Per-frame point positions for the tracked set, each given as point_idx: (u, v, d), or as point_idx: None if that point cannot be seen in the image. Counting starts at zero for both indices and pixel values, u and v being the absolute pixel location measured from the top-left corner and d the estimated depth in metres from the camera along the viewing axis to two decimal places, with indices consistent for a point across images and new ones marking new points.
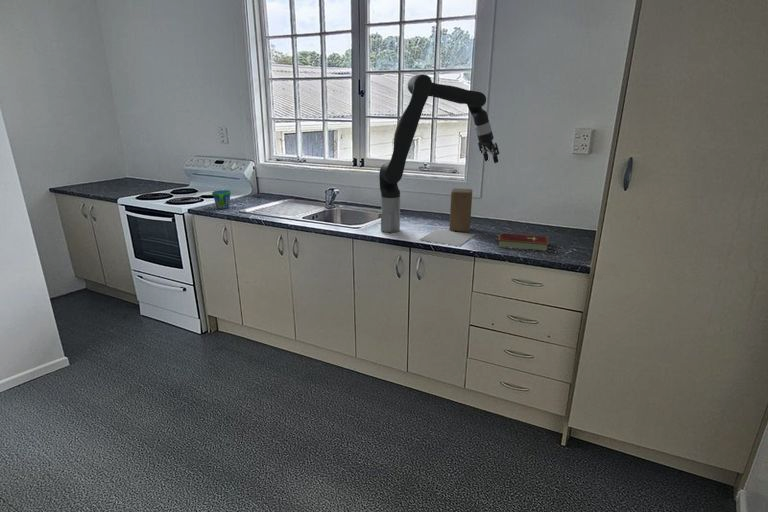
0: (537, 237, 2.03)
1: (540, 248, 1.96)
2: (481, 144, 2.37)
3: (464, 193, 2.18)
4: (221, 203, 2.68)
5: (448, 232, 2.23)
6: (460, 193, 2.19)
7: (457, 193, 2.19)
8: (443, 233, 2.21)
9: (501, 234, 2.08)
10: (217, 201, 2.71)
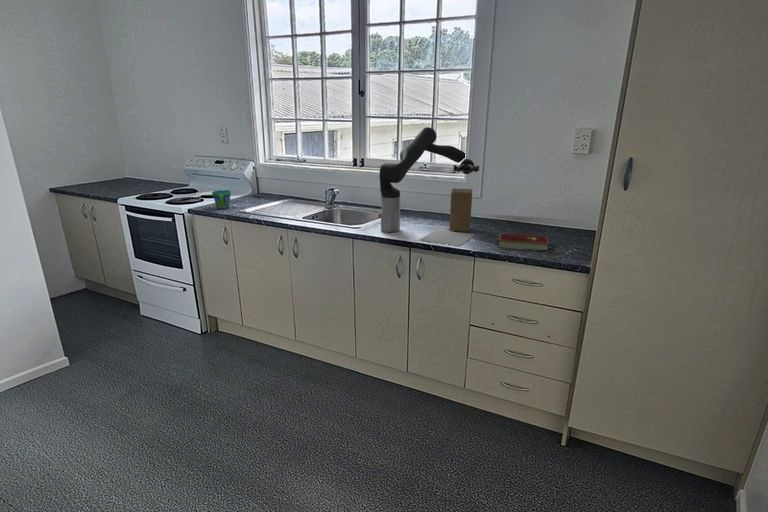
0: (537, 237, 2.03)
1: (540, 248, 1.96)
2: None
3: (464, 193, 2.18)
4: (221, 203, 2.68)
5: (448, 232, 2.23)
6: (460, 193, 2.19)
7: (457, 193, 2.19)
8: (443, 233, 2.21)
9: (501, 234, 2.08)
10: (217, 201, 2.71)
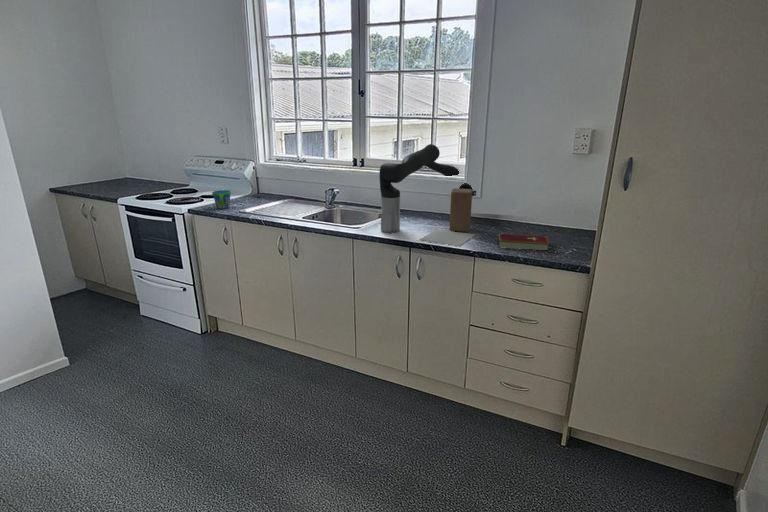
0: (537, 237, 2.04)
1: (541, 248, 1.96)
2: None
3: (464, 193, 2.18)
4: (221, 203, 2.68)
5: (448, 232, 2.23)
6: (460, 193, 2.19)
7: (457, 193, 2.19)
8: (443, 233, 2.21)
9: (501, 234, 2.07)
10: (217, 201, 2.71)
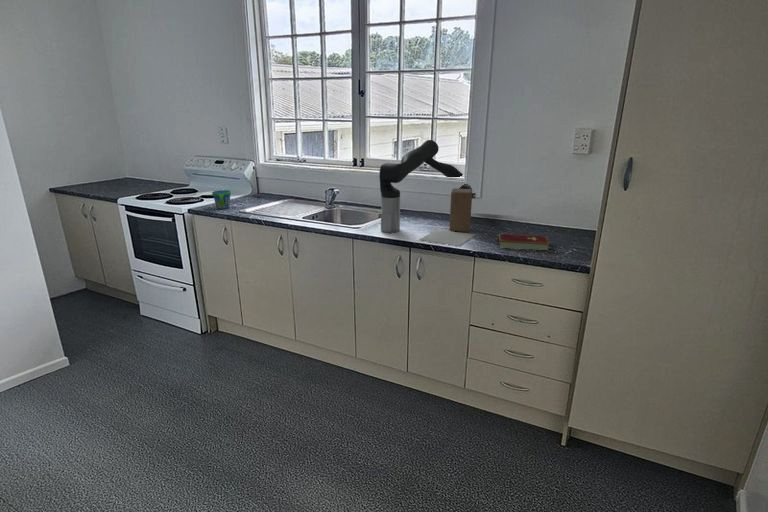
0: (536, 237, 2.04)
1: (541, 248, 1.96)
2: None
3: (464, 193, 2.18)
4: (221, 203, 2.68)
5: (448, 232, 2.23)
6: (460, 193, 2.18)
7: (457, 193, 2.19)
8: (443, 233, 2.21)
9: (500, 235, 2.07)
10: (217, 201, 2.71)
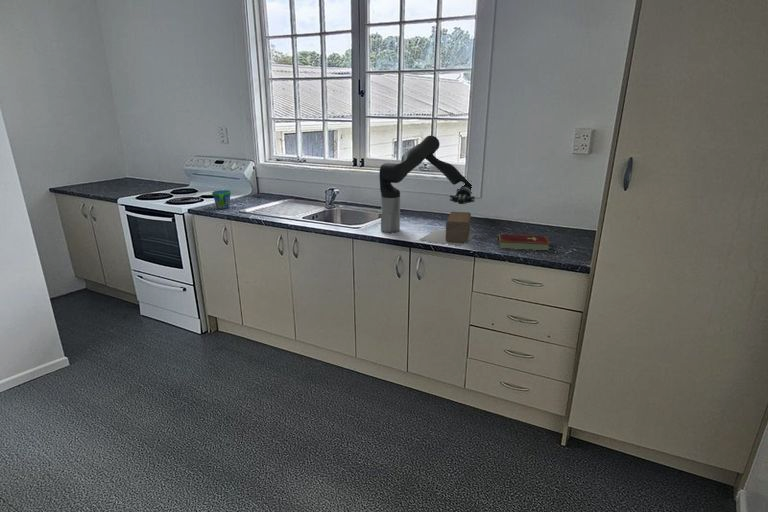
0: (536, 237, 2.04)
1: (542, 248, 1.96)
2: None
3: (459, 242, 2.06)
4: (221, 203, 2.68)
5: None
6: None
7: None
8: (443, 233, 2.21)
9: (500, 235, 2.07)
10: (217, 201, 2.71)
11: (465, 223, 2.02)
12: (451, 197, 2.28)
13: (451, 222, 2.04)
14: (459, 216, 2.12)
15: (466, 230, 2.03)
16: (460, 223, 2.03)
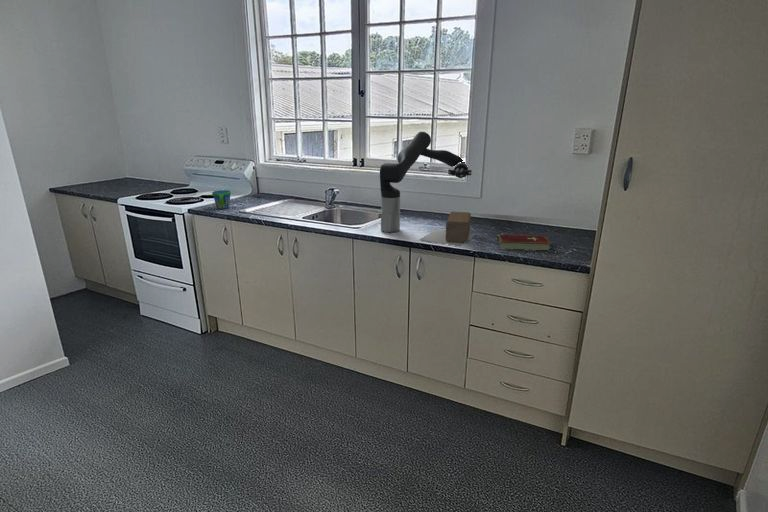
0: (536, 237, 2.04)
1: (542, 248, 1.96)
2: None
3: (459, 242, 2.06)
4: (221, 203, 2.68)
5: None
6: None
7: None
8: (443, 233, 2.21)
9: (500, 235, 2.06)
10: (217, 201, 2.71)
11: (465, 223, 2.02)
12: (449, 171, 2.40)
13: (451, 222, 2.04)
14: (459, 216, 2.12)
15: (466, 230, 2.03)
16: (460, 223, 2.03)
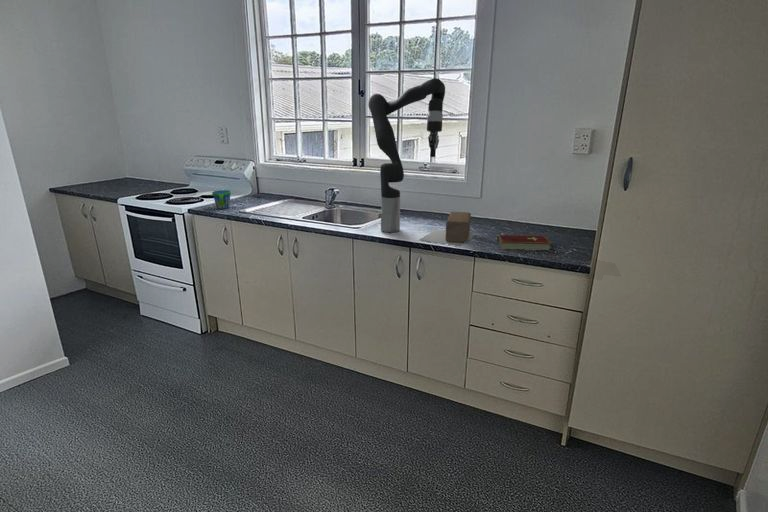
0: (536, 237, 2.04)
1: (543, 248, 1.96)
2: None
3: (459, 242, 2.06)
4: (221, 203, 2.68)
5: None
6: None
7: None
8: (443, 233, 2.21)
9: (500, 236, 2.06)
10: (217, 201, 2.71)
11: (465, 223, 2.02)
12: None
13: (451, 222, 2.04)
14: (459, 216, 2.12)
15: (466, 230, 2.03)
16: (460, 223, 2.03)
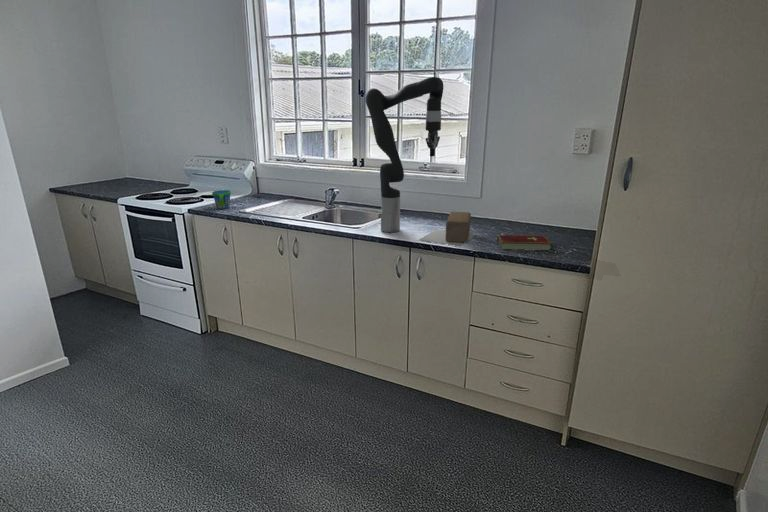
0: (536, 237, 2.04)
1: (543, 248, 1.96)
2: None
3: (459, 242, 2.06)
4: (221, 203, 2.68)
5: None
6: None
7: None
8: (443, 233, 2.21)
9: (500, 236, 2.05)
10: (217, 201, 2.71)
11: (465, 223, 2.02)
12: None
13: (451, 222, 2.04)
14: (459, 216, 2.12)
15: (466, 230, 2.03)
16: (460, 223, 2.03)
